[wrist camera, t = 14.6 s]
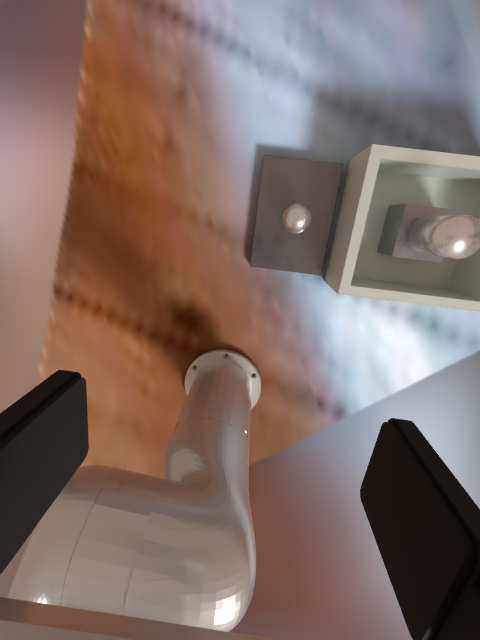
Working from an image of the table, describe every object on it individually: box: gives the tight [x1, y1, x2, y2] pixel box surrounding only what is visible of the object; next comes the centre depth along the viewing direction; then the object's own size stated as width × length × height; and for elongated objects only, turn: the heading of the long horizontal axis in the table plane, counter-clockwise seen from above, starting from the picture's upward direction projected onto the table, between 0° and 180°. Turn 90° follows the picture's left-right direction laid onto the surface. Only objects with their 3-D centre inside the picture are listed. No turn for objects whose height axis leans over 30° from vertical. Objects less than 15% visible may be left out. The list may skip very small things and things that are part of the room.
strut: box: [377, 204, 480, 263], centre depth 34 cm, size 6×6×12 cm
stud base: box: [250, 155, 344, 275], centre depth 38 cm, size 14×10×6 cm
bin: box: [325, 144, 480, 312], centre depth 37 cm, size 16×18×8 cm
